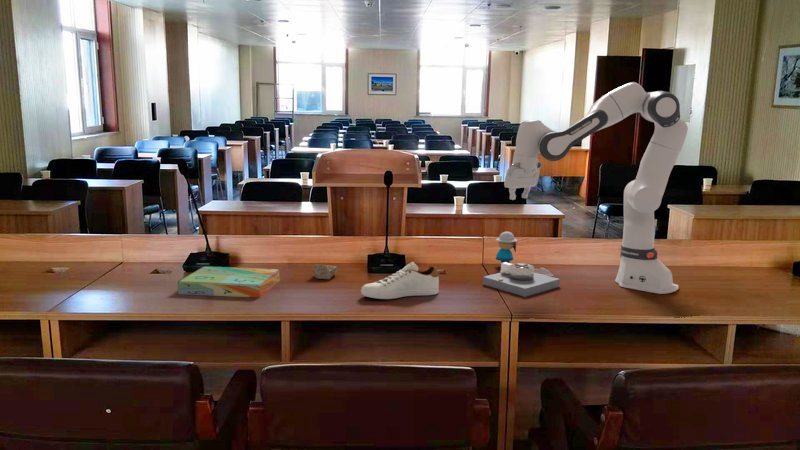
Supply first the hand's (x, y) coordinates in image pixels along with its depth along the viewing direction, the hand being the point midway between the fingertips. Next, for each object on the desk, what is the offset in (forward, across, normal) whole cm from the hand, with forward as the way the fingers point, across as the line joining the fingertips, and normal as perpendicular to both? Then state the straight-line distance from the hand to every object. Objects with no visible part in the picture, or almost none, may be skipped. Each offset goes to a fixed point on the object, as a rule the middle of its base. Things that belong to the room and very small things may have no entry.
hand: (518, 198), depth 239 cm
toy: (+32, +15, +8) cm, 36 cm away
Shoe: (+36, -44, +17) cm, 60 cm away
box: (+44, -77, +70) cm, 113 cm away
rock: (+40, -45, +54) cm, 80 cm away
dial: (+28, -6, -8) cm, 29 cm away
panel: (+31, -6, -10) cm, 33 cm away
